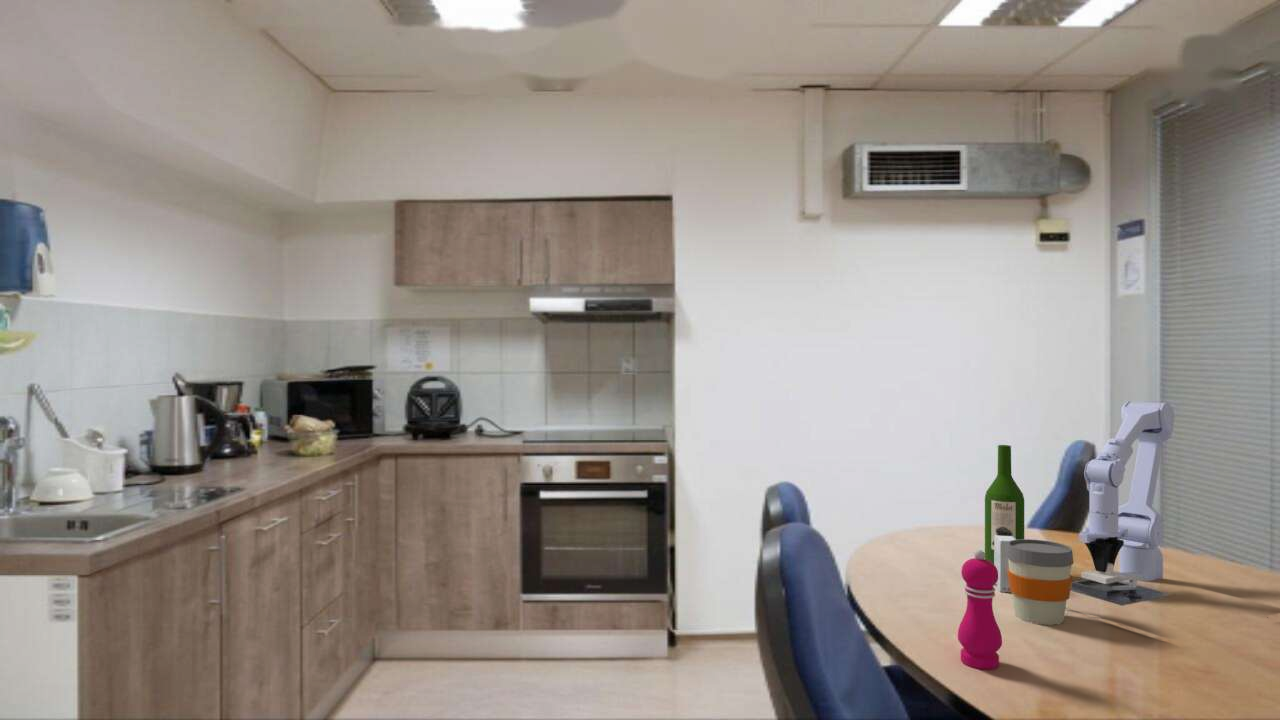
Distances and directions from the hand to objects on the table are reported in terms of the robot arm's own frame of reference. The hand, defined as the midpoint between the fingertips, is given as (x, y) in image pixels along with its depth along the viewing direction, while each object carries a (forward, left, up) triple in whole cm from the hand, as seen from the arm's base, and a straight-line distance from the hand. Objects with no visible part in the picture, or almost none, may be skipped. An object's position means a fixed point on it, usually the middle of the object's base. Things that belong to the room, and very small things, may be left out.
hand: (1104, 570), depth 177 cm
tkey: (+1, +6, -3) cm, 7 cm away
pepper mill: (+60, +18, -5) cm, 63 cm away
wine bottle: (+9, -19, -5) cm, 22 cm away
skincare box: (+18, -11, -5) cm, 22 cm away
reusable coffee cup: (+29, +6, -5) cm, 30 cm away
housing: (0, +2, -5) cm, 5 cm away
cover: (0, 0, -2) cm, 2 cm away
